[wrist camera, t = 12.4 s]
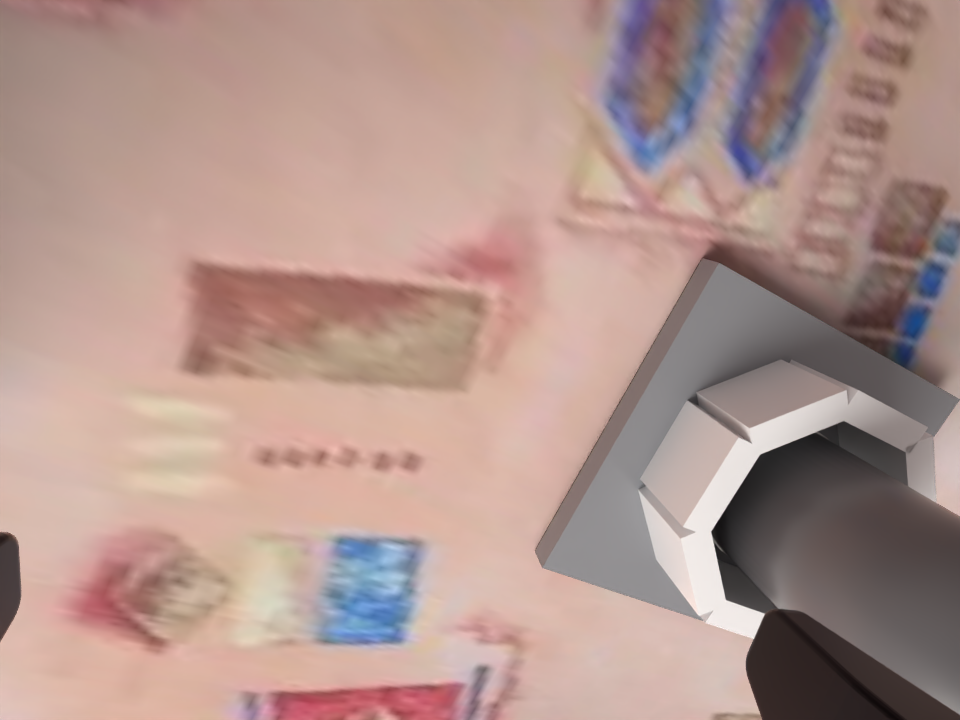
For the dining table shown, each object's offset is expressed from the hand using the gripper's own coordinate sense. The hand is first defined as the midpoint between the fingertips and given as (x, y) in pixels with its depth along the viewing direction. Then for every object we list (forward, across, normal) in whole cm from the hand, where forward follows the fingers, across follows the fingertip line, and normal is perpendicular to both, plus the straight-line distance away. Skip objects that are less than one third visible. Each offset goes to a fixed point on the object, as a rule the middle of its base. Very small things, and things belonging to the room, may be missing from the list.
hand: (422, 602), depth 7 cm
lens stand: (+14, -13, +4) cm, 19 cm away
